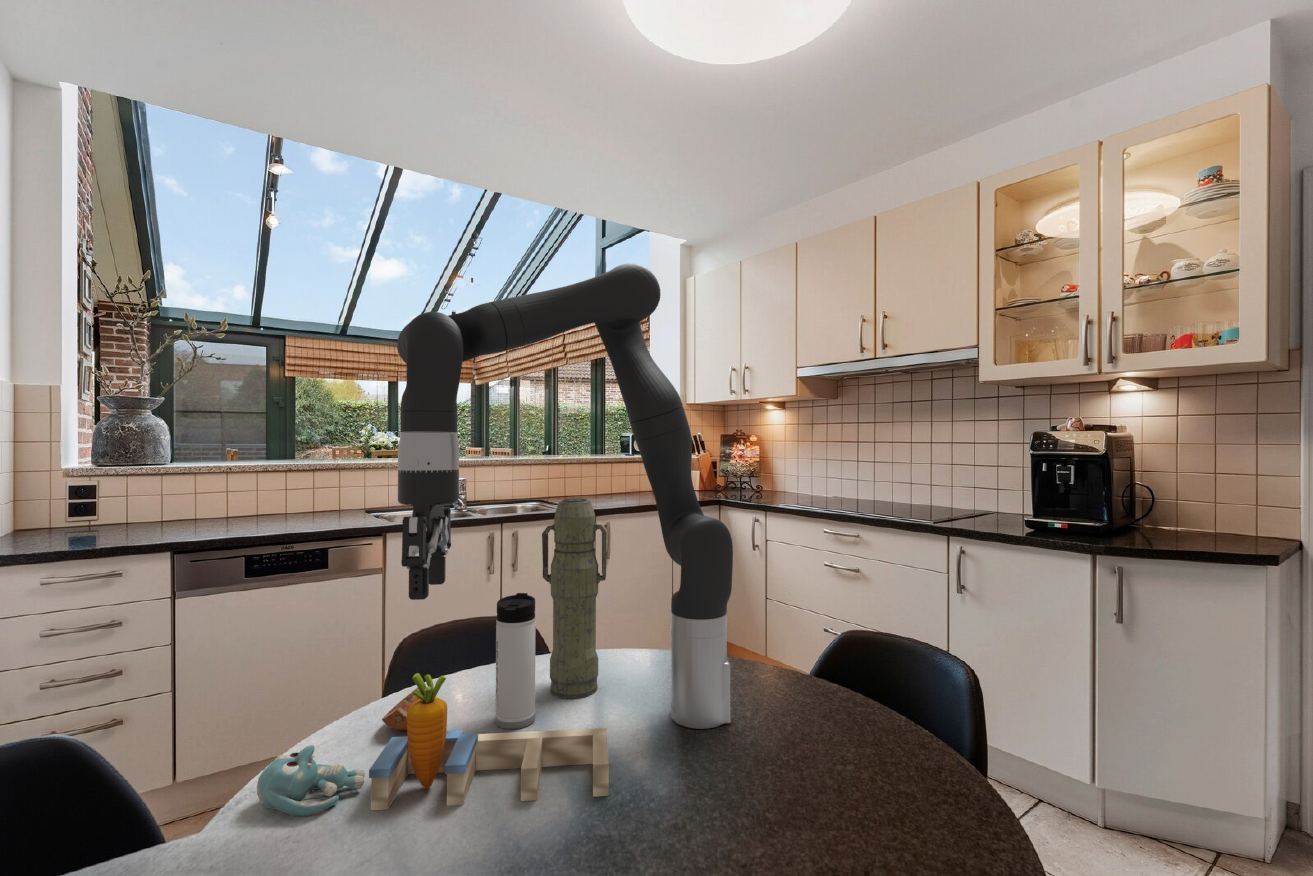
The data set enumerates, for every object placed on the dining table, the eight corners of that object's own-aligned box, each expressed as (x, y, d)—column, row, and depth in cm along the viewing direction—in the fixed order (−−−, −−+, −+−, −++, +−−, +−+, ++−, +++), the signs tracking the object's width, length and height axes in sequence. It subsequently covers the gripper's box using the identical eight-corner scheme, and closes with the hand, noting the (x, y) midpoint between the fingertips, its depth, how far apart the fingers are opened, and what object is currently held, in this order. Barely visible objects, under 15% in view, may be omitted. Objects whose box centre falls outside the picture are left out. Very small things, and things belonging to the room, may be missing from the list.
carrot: (455, 781, 79) (455, 668, 79) (430, 803, 74) (430, 682, 74) (424, 775, 80) (424, 664, 81) (397, 796, 76) (398, 677, 76)
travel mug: (540, 712, 100) (541, 593, 101) (528, 730, 94) (528, 602, 94) (504, 710, 101) (505, 592, 101) (489, 729, 94) (490, 601, 95)
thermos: (541, 682, 113) (542, 498, 114) (603, 678, 115) (604, 497, 116) (540, 701, 105) (541, 501, 105) (607, 696, 107) (608, 501, 107)
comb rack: (606, 755, 86) (606, 720, 86) (608, 796, 76) (608, 756, 76) (396, 767, 83) (396, 730, 83) (368, 811, 72) (369, 770, 73)
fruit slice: (416, 741, 90) (416, 708, 90) (371, 741, 90) (372, 708, 90) (436, 717, 98) (436, 686, 99) (396, 717, 98) (396, 686, 99)
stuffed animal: (369, 765, 73) (256, 766, 69) (356, 826, 72) (241, 831, 68) (373, 728, 83) (274, 727, 78) (361, 781, 82) (261, 783, 78)
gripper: (445, 468, 72) (444, 604, 71) (469, 465, 86) (468, 579, 85) (380, 468, 71) (378, 606, 70) (415, 466, 85) (414, 580, 85)
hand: (428, 591), depth 78 cm, fingers open, 8 cm apart
